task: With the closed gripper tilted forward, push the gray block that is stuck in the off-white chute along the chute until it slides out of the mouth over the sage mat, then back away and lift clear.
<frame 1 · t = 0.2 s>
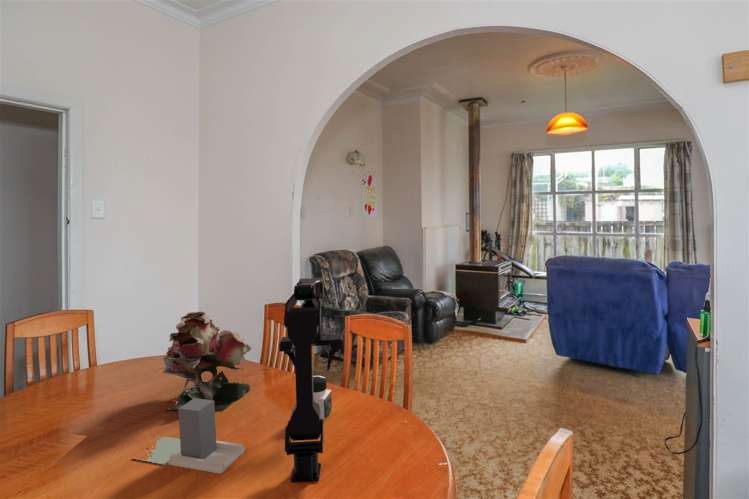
hand: (312, 370, 127), 15 cm above the table, tool pointing down, fingers open, 9 cm apart
gray block: (197, 428, 108), point 7 cm above the table, slide at 0.0 cm
medicine bottle: (317, 416, 129), on the table
rose bouquet: (204, 398, 144), on the table
off-white chute: (199, 456, 109), on the table
sage mat: (163, 450, 112), on the table
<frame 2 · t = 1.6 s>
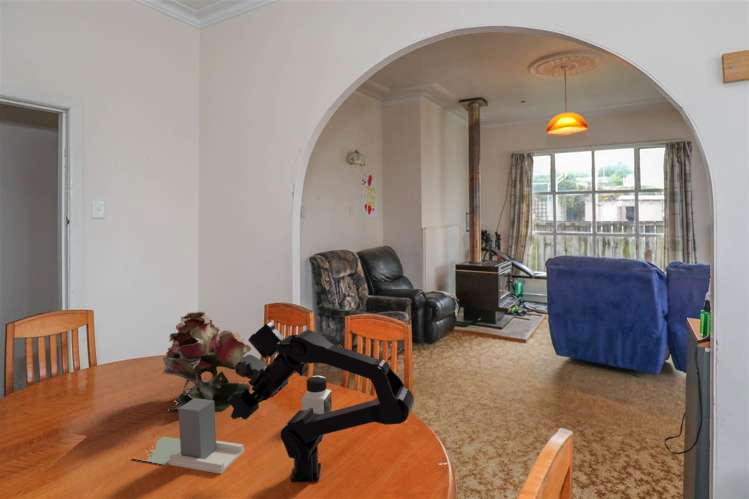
hand: (240, 411, 104), 14 cm above the table, tool tilted 45°, fingers open, 6 cm apart
nothing on the table moved.
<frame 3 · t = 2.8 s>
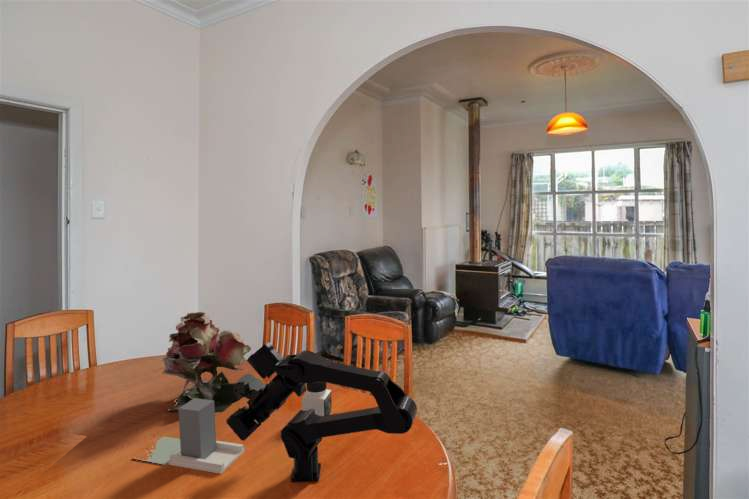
hand: (238, 430, 105), 9 cm above the table, tool tilted 45°, fingers closed
nothing on the table moved.
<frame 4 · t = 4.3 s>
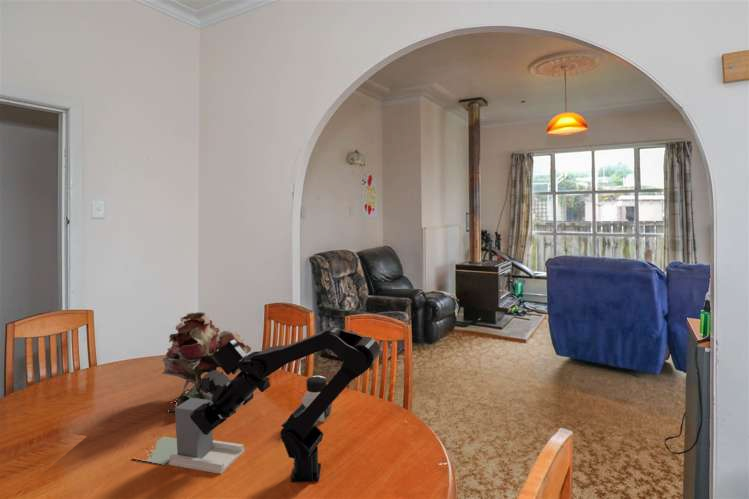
hand: (205, 424, 107), 9 cm above the table, tool tilted 45°, fingers closed, pressing on gray block
gray block: (194, 428, 108), point 7 cm above the table, slide at 1.0 cm, touching gripper
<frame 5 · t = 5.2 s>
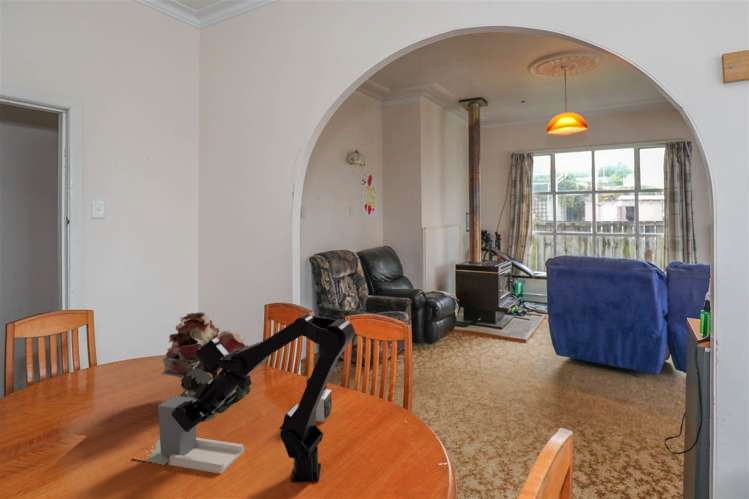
hand: (188, 422, 109), 9 cm above the table, tool tilted 45°, fingers closed, pressing on gray block
gray block: (177, 425, 110), point 7 cm above the table, slide at 6.2 cm, touching gripper
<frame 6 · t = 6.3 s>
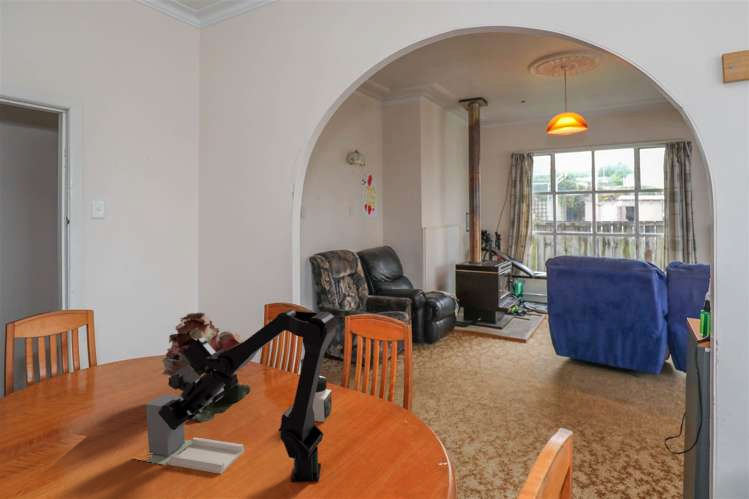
hand: (176, 420, 110), 9 cm above the table, tool tilted 45°, fingers closed, pressing on gray block
gray block: (165, 424, 111), point 7 cm above the table, slide at 9.9 cm, touching gripper
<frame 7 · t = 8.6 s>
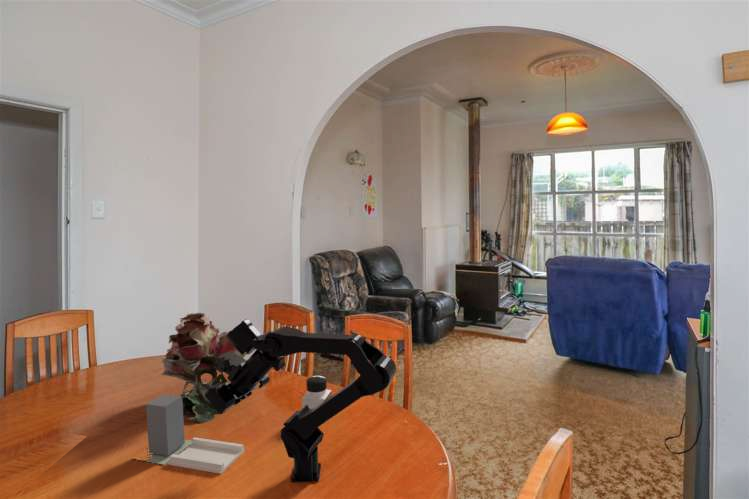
hand: (221, 407, 106), 14 cm above the table, tool tilted 45°, fingers closed
gray block: (165, 424, 111), point 7 cm above the table, slide at 9.9 cm
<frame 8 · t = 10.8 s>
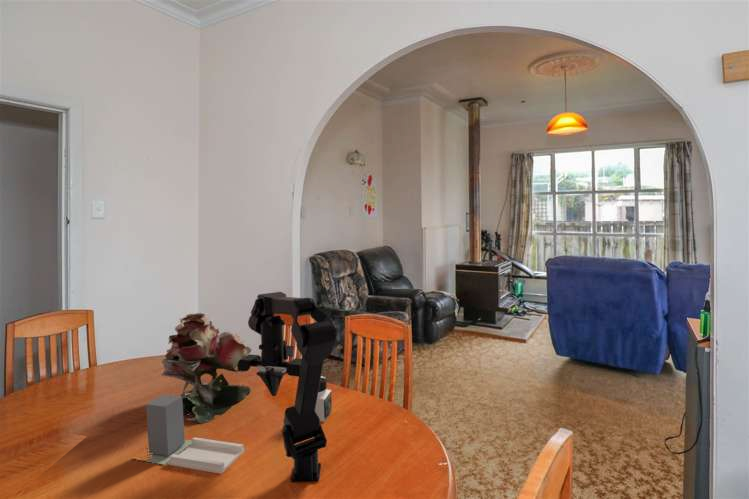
hand: (274, 395, 114), 13 cm above the table, tool pointing down, fingers closed
at the end: gray block slide at 9.9 cm; gray block moved 9.9 cm from its start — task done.
